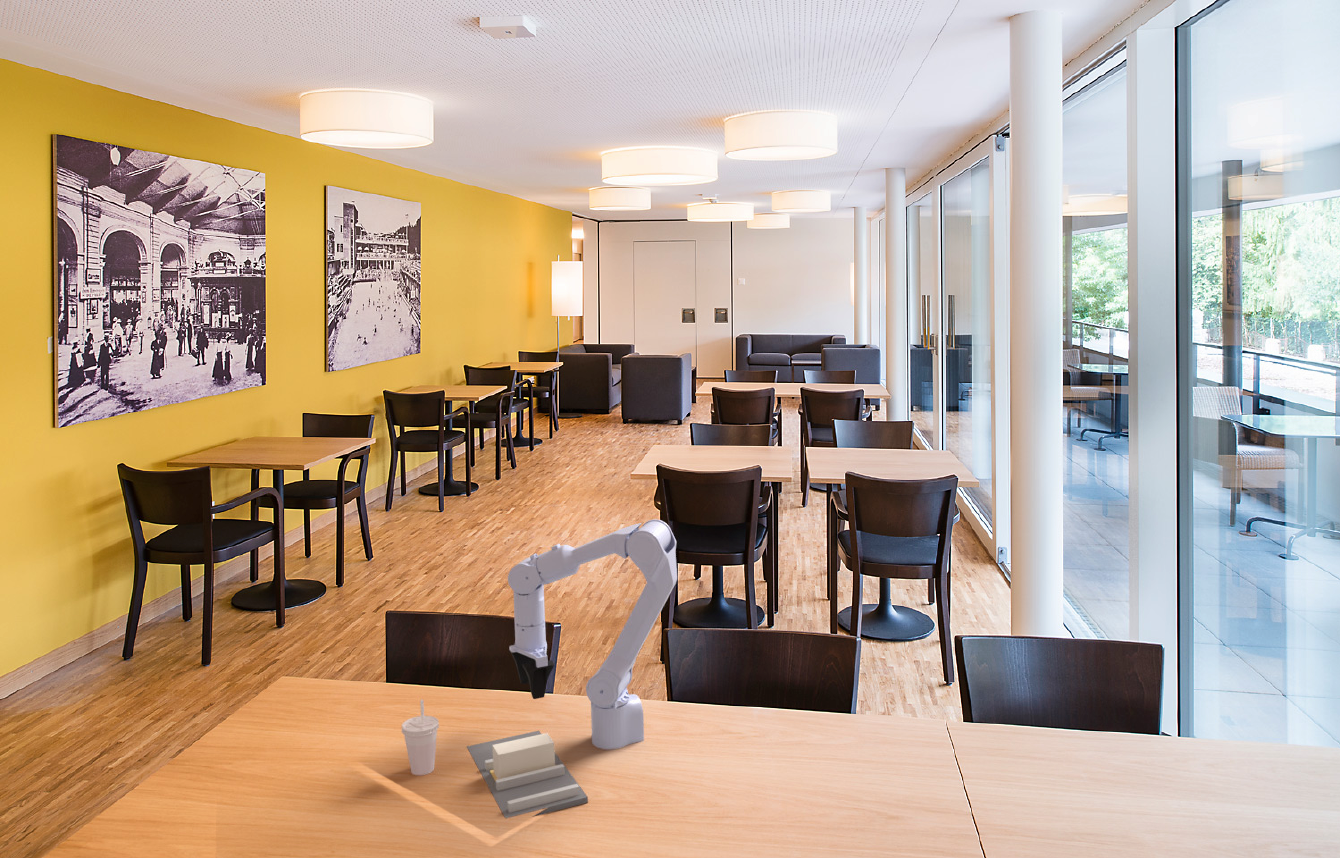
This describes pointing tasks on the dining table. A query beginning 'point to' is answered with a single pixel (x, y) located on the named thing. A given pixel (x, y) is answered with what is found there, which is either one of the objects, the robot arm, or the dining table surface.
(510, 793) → the grey ridged board
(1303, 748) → the dining table surface
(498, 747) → the frame block
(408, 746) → the smoothie
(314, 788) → the dining table surface
